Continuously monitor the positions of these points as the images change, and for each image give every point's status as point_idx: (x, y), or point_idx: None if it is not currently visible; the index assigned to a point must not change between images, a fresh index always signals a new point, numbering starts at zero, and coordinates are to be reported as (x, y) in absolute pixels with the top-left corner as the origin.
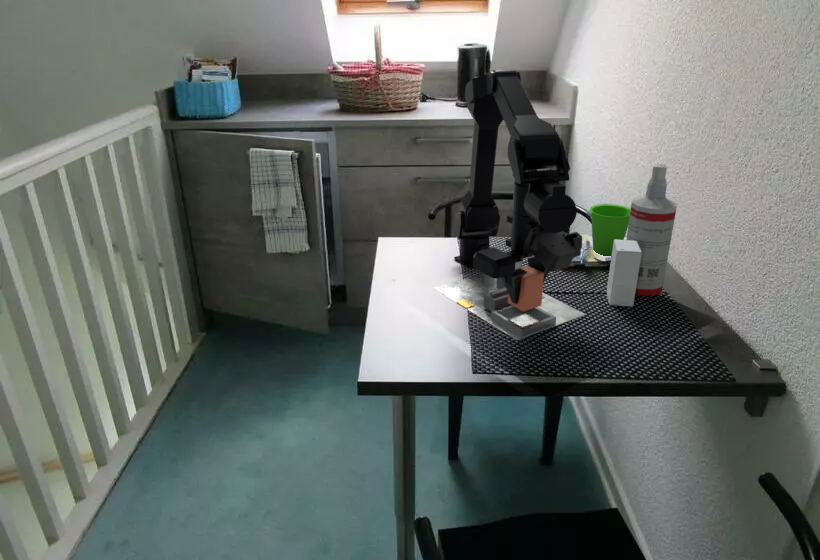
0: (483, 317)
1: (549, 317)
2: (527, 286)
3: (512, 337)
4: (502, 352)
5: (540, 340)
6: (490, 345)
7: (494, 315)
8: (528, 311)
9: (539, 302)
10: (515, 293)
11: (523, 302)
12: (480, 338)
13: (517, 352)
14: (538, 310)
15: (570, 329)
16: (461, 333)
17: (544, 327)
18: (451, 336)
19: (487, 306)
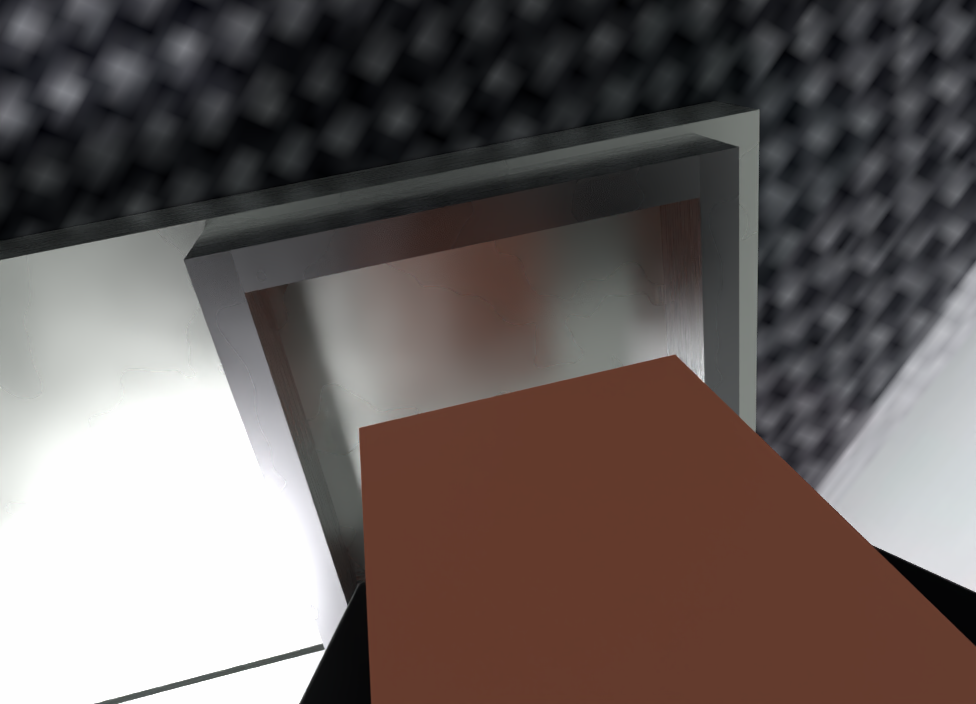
0: None
1: (273, 286)
2: (889, 637)
3: (756, 176)
4: (850, 89)
5: (434, 134)
6: (850, 231)
7: None
8: (344, 540)
9: (402, 450)
10: (926, 573)
11: (741, 429)
12: (839, 351)
13: (750, 28)
14: (304, 473)
15: (11, 206)
16: (894, 452)
17: (378, 199)
18: (969, 437)
19: None
